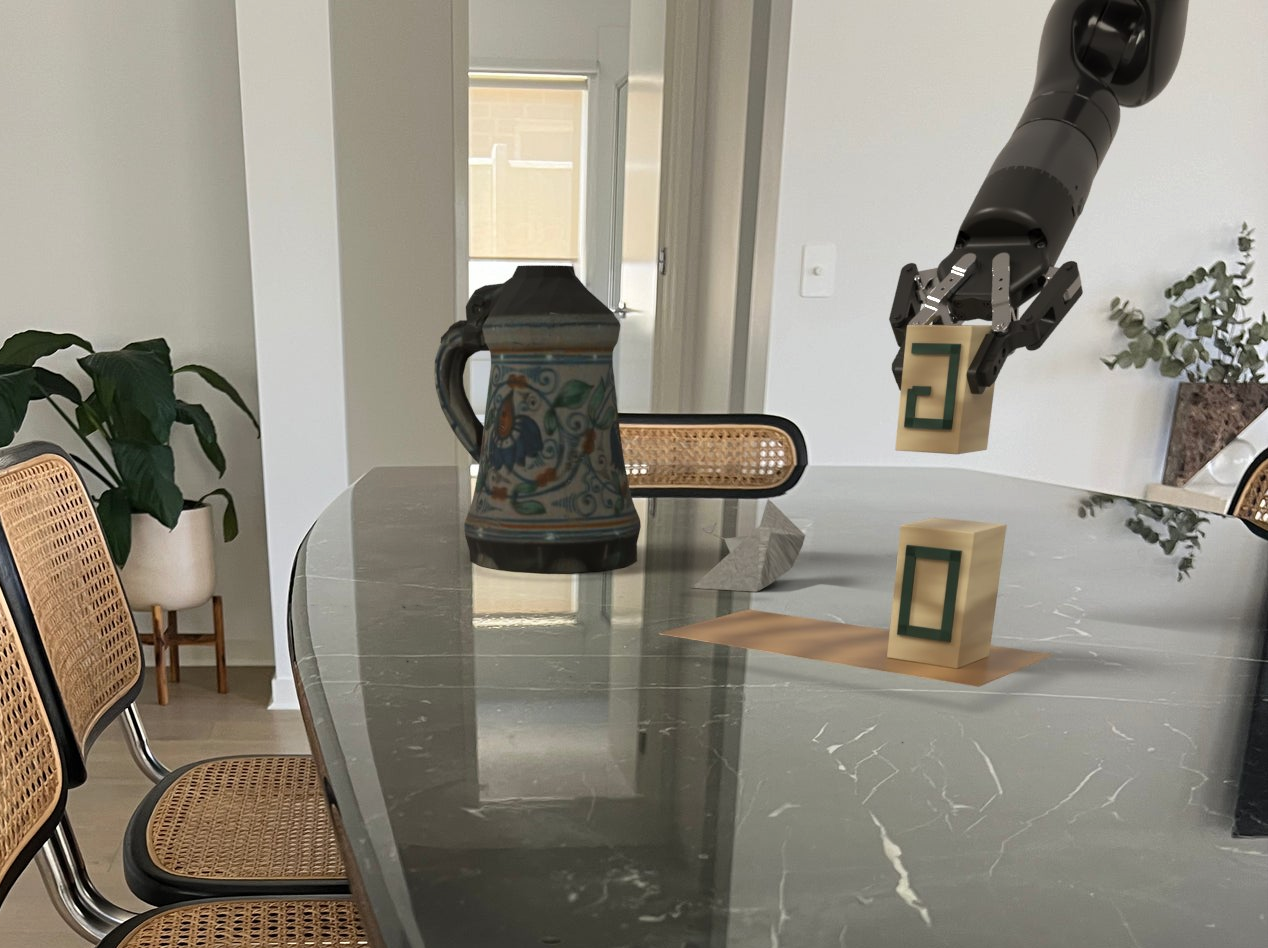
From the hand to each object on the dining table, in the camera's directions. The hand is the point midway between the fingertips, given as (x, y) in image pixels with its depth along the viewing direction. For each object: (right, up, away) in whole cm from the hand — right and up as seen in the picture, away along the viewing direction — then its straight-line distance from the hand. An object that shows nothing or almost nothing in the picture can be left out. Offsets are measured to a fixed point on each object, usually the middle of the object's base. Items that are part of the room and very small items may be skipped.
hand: (937, 383), depth 105 cm
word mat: (-7, -20, -4) cm, 22 cm away
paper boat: (-11, -9, +22) cm, 26 cm away
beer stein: (-29, -4, +33) cm, 44 cm away
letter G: (+1, -4, +3) cm, 5 cm away
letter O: (-2, -21, -8) cm, 23 cm away
